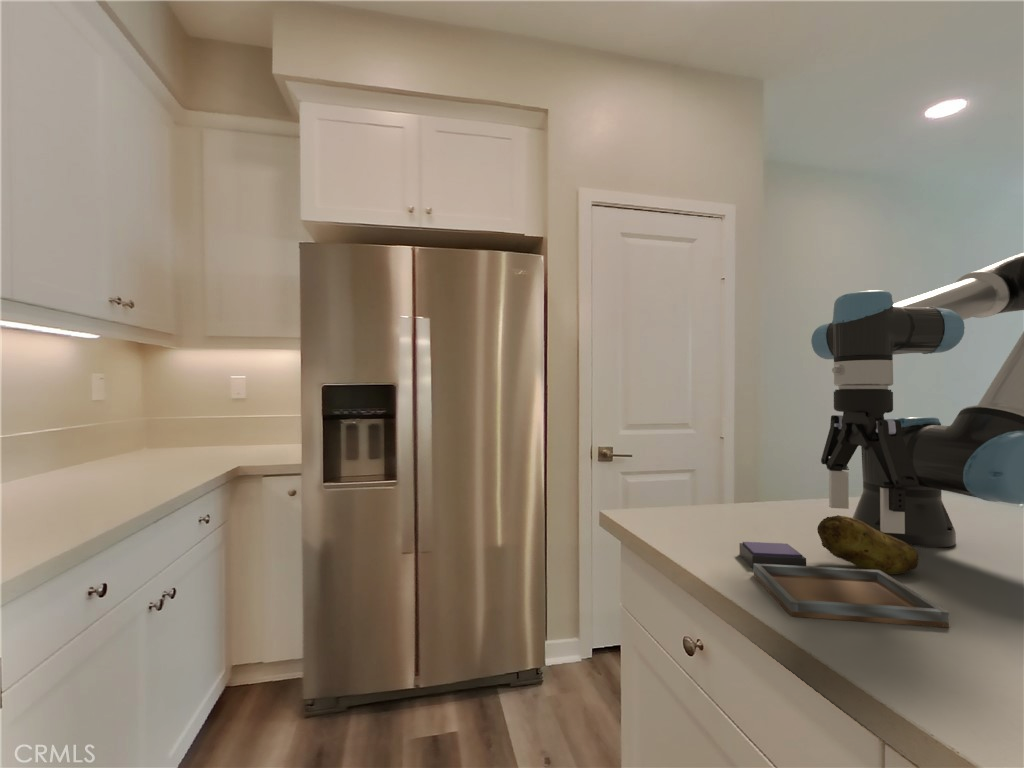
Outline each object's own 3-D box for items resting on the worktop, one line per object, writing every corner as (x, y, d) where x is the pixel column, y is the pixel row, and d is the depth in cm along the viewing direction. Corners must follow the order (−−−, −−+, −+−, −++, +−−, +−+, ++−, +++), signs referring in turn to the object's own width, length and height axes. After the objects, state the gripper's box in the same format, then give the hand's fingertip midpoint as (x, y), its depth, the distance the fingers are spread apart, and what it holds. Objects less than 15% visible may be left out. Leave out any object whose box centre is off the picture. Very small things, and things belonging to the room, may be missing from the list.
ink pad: (789, 556, 75) (788, 542, 75) (806, 571, 69) (806, 556, 69) (739, 554, 77) (739, 540, 77) (752, 568, 71) (752, 553, 71)
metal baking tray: (879, 582, 65) (879, 570, 65) (949, 627, 53) (948, 612, 53) (753, 574, 68) (753, 563, 68) (791, 616, 56) (790, 602, 56)
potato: (925, 588, 63) (924, 533, 63) (817, 567, 71) (816, 518, 71) (917, 569, 70) (915, 519, 70) (818, 552, 77) (818, 507, 77)
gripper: (799, 388, 83) (800, 499, 83) (889, 386, 59) (890, 544, 58) (843, 388, 82) (843, 500, 82) (953, 387, 58) (954, 547, 57)
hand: (863, 519), depth 70 cm, fingers open, 13 cm apart
